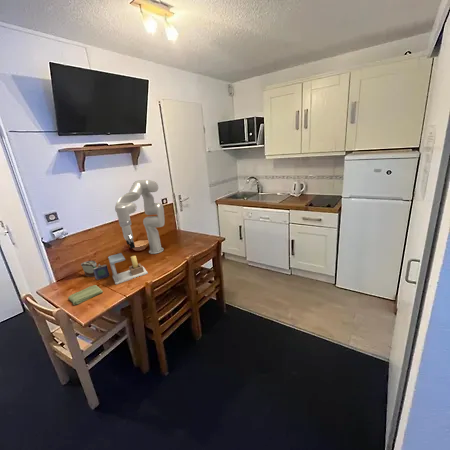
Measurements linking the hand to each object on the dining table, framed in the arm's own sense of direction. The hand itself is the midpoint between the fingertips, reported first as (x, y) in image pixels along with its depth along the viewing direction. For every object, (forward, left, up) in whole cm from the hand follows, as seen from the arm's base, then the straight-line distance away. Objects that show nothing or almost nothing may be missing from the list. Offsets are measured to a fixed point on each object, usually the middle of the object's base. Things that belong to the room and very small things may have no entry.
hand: (131, 246), depth 177 cm
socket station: (0, -5, -21) cm, 22 cm away
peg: (0, 0, -20) cm, 20 cm away
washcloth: (+8, -35, -22) cm, 42 cm away
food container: (-23, -27, -21) cm, 41 cm away
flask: (-11, -22, -22) cm, 33 cm away
